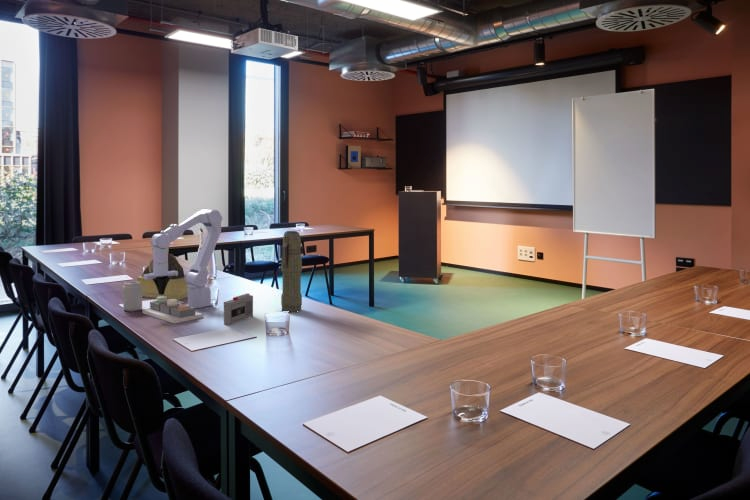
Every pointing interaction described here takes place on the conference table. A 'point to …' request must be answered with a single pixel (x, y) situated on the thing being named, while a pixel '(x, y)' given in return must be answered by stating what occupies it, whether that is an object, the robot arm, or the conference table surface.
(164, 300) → the sage button
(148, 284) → the decorative clock
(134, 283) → the can
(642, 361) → the conference table surface
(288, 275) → the thermos
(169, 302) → the cream button
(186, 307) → the terracotta button
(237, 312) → the cassette player
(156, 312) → the panel
